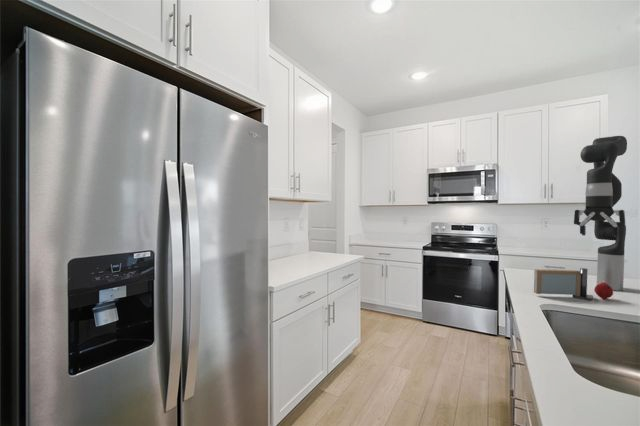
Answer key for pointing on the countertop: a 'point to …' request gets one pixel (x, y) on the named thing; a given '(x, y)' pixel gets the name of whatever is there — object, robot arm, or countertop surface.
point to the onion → (603, 290)
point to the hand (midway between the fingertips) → (598, 236)
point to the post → (583, 286)
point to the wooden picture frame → (557, 282)
